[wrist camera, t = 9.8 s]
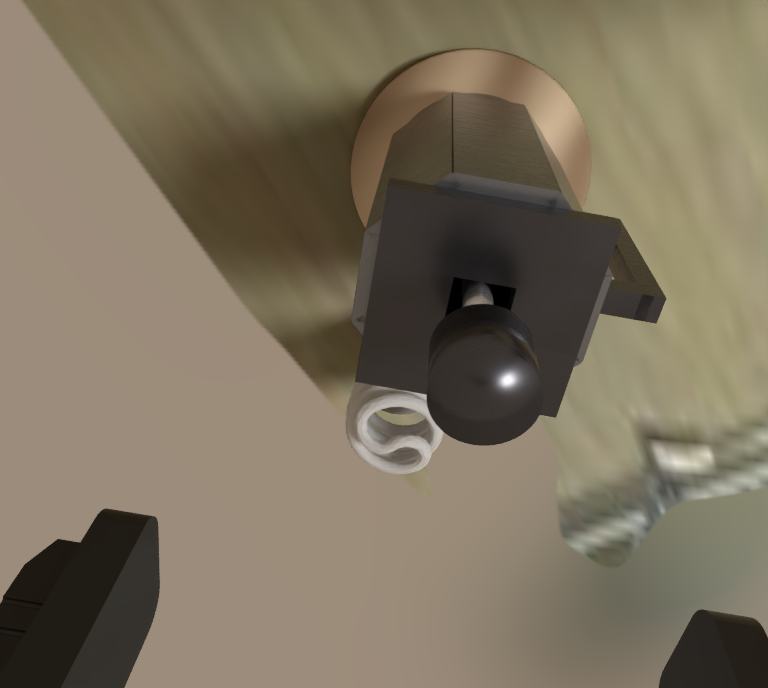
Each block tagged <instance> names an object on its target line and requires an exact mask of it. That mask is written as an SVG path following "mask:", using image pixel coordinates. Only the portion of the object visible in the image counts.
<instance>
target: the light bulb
mask: <svg viewBox="0 0 768 688" xmlns="http://www.w3.org/2000/svg"><path fill="white" fill-rule="evenodd" d="M379 410H383V411H386V412H389V413H392V414H411V413H414V412H418V413H420V414H421V415H422V416H423V417H424V418H425V419H424V420H423V421H421V422H419V423H417V424H414V425H404V426H402V425H395V424H392V423H390V422H387V421H385V420H383V419H382V418H381V417H379V416H378V415H377V414H376V413H375V412H376V411H379ZM346 414H347V417H346V433H347V438H348V440H349V442H350V445H351V447H352V448H353V449H354V451H355V452H356V454H357V455H358V456H359V457H360V458H361V459H362V460H363V461H365V463H367V464H369V465H370V466H372V467H374V468H376V469H378V470H381V471H384V472H388V473H393V474H407V473H413V472H416V471H418V470H420V469H422V468H423V467H424V466H426V465H427V463H428V462H429V460H430V458H431V453H432V452H433V451H434V450H435V449H436V448H437V447H438V446H439V444H440V441H441V439H442V437H443V431H442V430H441V429H440V428H439V427H438V426H437V425H436V424H435V422H434V421H433V419H432V417H431V415H430V413H429V410H428V407H427V395H426V394H420V393H415V392H409V391H404V390H398V389H392V388H387V387H381V386H375V385H370V384H364V383H358V382H356V383H355V385H354V387H353V390H352V393H351V397H350V399H349V402H348V405H347V413H346Z"/></svg>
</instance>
